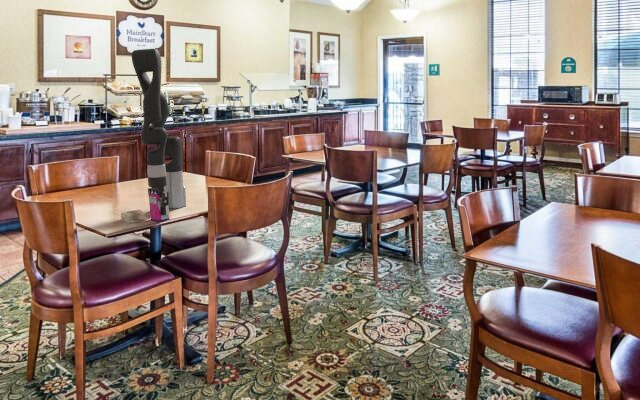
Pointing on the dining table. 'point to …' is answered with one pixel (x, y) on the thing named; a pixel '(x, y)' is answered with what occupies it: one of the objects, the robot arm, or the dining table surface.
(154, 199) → the supplement box
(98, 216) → the dining table surface
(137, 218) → the maple block
